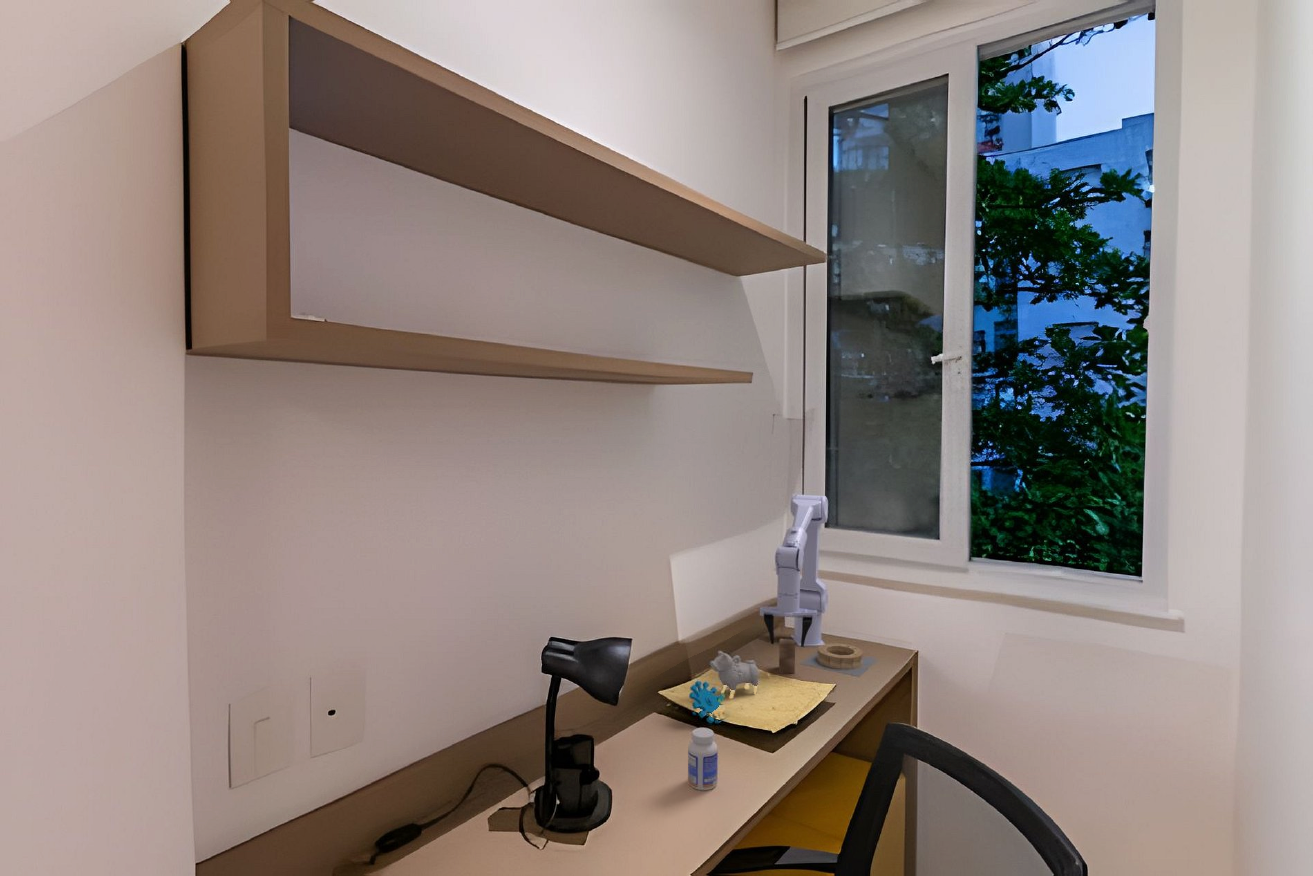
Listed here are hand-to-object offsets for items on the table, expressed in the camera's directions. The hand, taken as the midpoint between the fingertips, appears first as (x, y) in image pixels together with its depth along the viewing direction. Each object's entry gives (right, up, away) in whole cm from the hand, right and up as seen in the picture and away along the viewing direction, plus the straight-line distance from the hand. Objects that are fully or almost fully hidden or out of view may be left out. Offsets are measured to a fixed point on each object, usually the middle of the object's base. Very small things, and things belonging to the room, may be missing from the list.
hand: (787, 644), depth 191 cm
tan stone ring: (+16, -7, +7) cm, 18 cm away
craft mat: (+16, -7, +7) cm, 19 cm away
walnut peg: (0, -7, 0) cm, 7 cm away
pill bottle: (-26, -10, -56) cm, 63 cm away
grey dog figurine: (-15, -8, -14) cm, 23 cm away
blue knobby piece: (-22, -9, -28) cm, 37 cm away
